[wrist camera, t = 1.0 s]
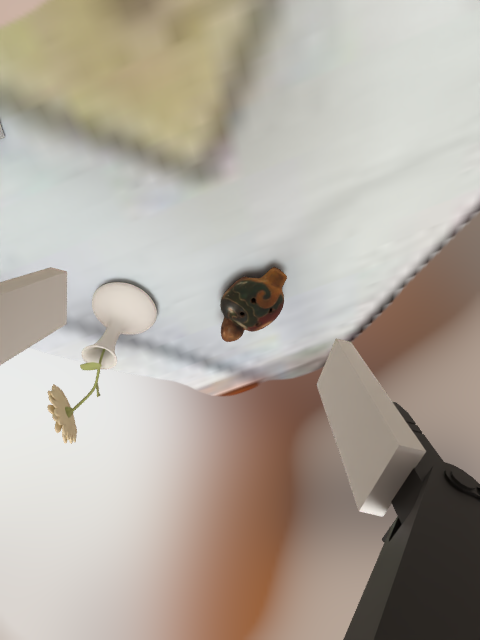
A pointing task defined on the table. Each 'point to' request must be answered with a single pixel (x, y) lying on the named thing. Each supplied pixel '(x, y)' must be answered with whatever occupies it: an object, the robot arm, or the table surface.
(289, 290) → the table surface
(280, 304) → the painted clay ocarina
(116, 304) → the flower in vase
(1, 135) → the tea box
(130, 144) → the table surface
